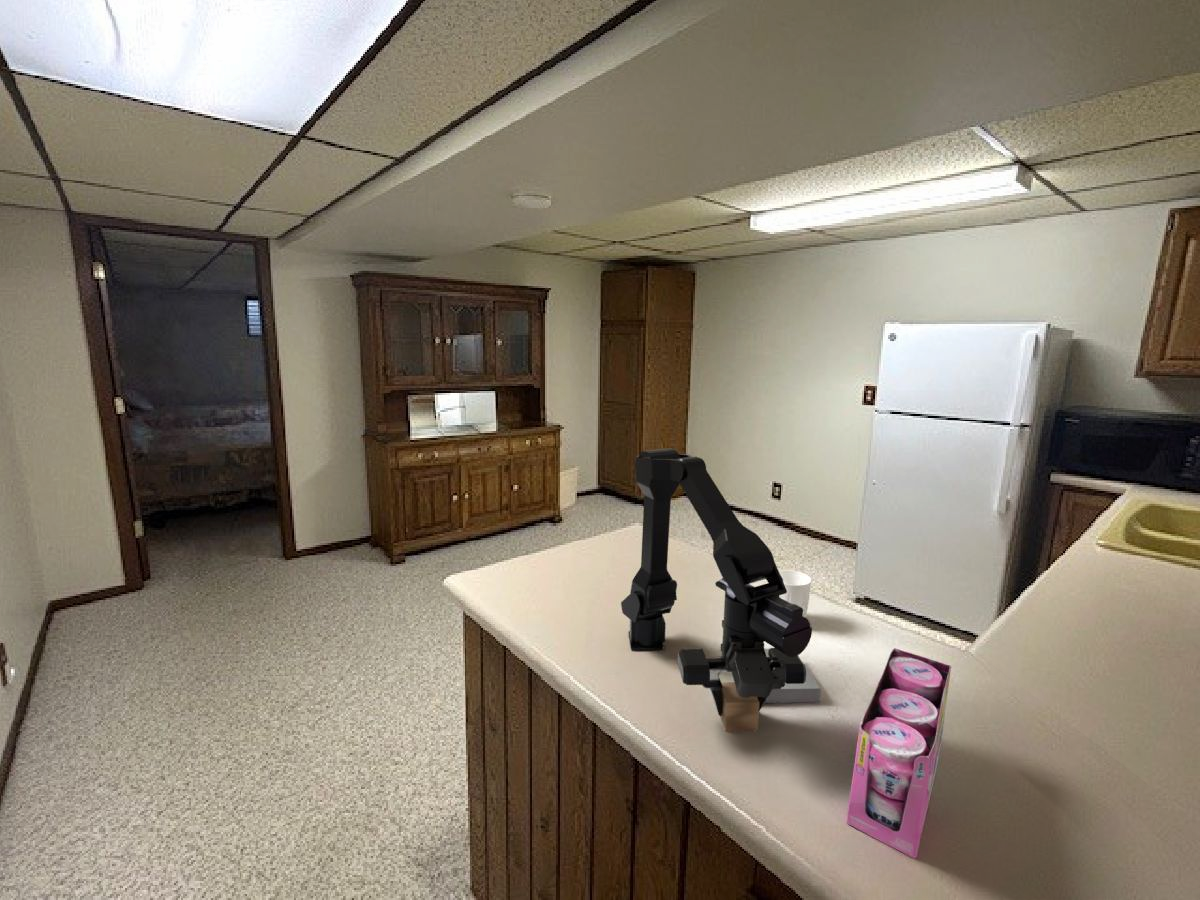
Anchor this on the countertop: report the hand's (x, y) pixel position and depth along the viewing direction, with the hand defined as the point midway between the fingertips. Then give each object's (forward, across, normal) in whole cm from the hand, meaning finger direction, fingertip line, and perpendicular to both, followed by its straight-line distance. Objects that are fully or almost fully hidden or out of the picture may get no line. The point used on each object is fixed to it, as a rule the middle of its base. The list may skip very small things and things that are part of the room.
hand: (737, 713), depth 84 cm
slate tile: (+1, +9, +10) cm, 13 cm away
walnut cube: (+1, 0, 0) cm, 1 cm away
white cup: (+1, +20, +31) cm, 37 cm away
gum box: (+1, +18, -13) cm, 22 cm away
